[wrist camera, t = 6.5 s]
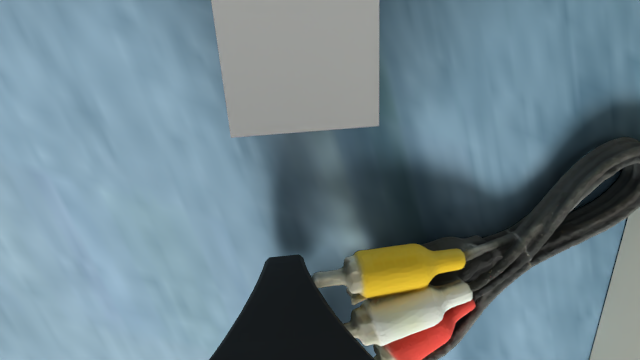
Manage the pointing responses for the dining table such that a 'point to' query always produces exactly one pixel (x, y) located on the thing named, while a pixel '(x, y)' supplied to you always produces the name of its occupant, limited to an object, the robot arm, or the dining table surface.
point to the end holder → (622, 302)
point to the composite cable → (477, 261)
